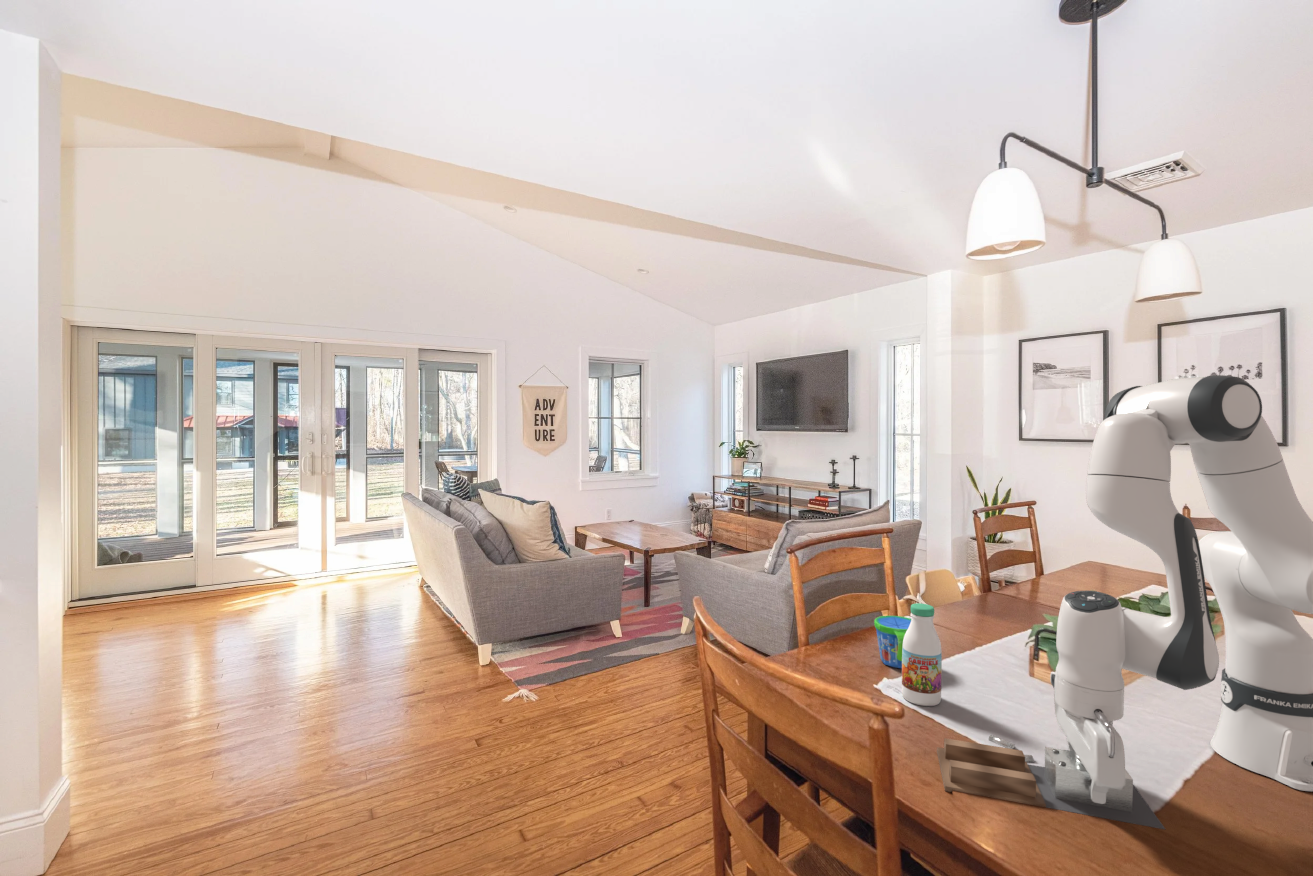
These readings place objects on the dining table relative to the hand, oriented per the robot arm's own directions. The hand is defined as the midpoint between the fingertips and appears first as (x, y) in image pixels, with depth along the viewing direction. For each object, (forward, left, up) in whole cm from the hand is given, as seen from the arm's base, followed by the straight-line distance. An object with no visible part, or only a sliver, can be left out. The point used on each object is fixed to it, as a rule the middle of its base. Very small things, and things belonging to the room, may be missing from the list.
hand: (1086, 782), depth 95 cm
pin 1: (+9, -12, -1) cm, 16 cm away
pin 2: (+8, -7, -2) cm, 11 cm away
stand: (+14, 0, -2) cm, 14 cm away
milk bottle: (+22, -27, -2) cm, 35 cm away
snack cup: (+26, -45, -2) cm, 52 cm away
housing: (0, 0, -2) cm, 2 cm away
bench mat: (0, 0, -2) cm, 2 cm away
